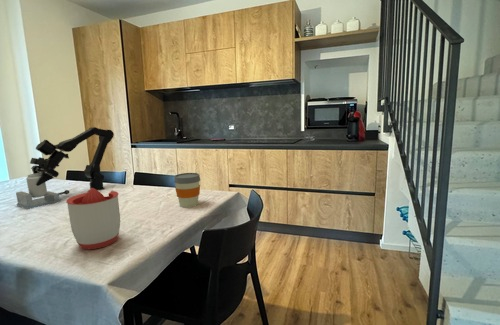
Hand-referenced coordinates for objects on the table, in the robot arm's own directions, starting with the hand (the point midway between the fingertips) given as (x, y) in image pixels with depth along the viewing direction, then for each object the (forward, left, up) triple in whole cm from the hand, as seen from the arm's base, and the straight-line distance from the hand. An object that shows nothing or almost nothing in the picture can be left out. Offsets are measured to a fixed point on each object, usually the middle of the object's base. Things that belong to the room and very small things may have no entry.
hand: (33, 184), depth 140 cm
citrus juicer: (-7, +75, -11) cm, 76 cm away
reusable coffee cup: (-51, +65, -11) cm, 84 cm away
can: (-1, 0, -7) cm, 7 cm away
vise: (-5, -1, -10) cm, 12 cm away
